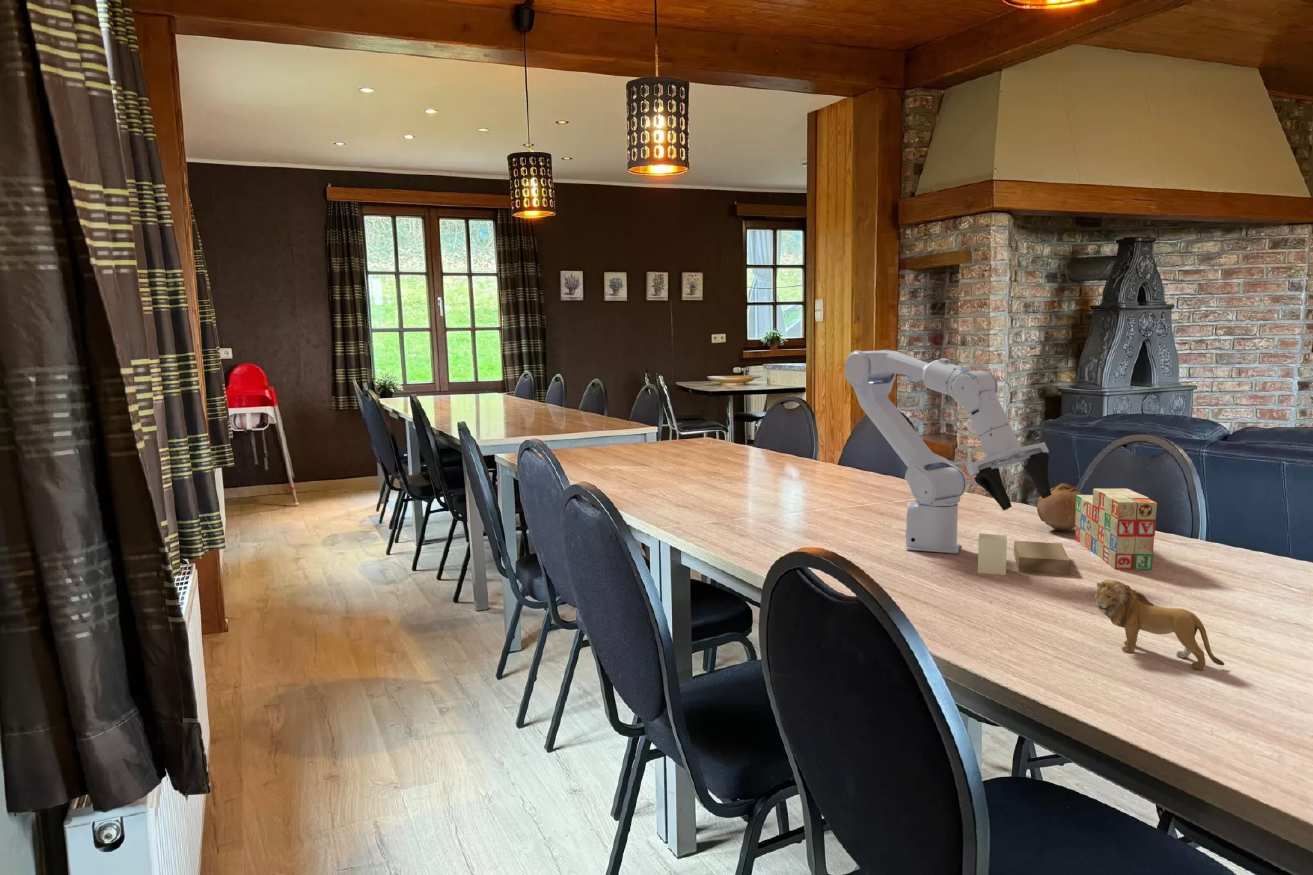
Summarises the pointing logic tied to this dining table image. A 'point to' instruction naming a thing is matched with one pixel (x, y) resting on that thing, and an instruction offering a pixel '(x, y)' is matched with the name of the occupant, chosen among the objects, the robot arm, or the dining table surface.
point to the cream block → (992, 554)
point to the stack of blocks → (1117, 527)
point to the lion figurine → (1151, 620)
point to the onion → (1059, 507)
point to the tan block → (1041, 557)
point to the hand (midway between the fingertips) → (1027, 502)
